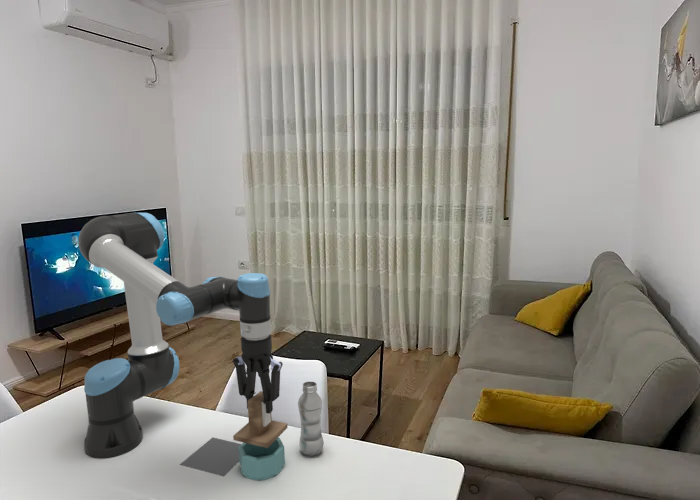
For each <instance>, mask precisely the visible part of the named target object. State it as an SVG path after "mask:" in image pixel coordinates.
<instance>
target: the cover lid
mask: <svg viewBox="0 0 700 500" xmlns="http://www.w3.org/2000/svg"><path fill="white" fill-rule="evenodd" d="M254 395H255V396H254ZM254 395H253V396H254V397H253V398H251V399H250V400H249V401H248V409H247V416H248V421H247V423H246V424H245V425H244V426H243V427H241V428H240V429H239V430H238V431H237V432H236V433H235V434H233V436H232V437H233V441H236V442H240V443H243V442H244V443H248V444H252V445H257V446H261V447H266V448H268V447H269V446H270V445H271V444H272V443H273V442H274V441H275V440H276V439H277V438H278V437H279V438H280V436H282V434H283V433H284V432H285V431H286V430H287V429H288V423H286V422H281V421H277V420H272V419H273V418H272V412H271V413H270V415H271V422H270V423H269V424H268V425H267V426H266V427H264V426H263V420H262V402H263V401H264V397H263V391H261V390H260V391H259V392H258V393H255V394H254Z"/></svg>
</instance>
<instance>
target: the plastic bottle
mask: <svg viewBox="0 0 700 500" xmlns="http://www.w3.org/2000/svg"><path fill="white" fill-rule="evenodd" d="M317 384H318V383H316V381H305V382H304V383H302V393H301V395H300V396H299V398H298V401H297V407H298V413H299V421H300V436H299V450H300V451H301V452H302V454H304V455H306V456H309V457H310V456H311V457H312V456H316V455H318V454H321V452H322V451H323V449H324V437H323V433H322V426H321V425H322V423H321V422H322V421H321V420H322V416H321V415H322V408H323V407H322V406H323V401H322V400H323V399H322V398H321V396H320V395H319V394H318V392H317V391H318V385H317Z"/></svg>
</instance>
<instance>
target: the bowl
mask: <svg viewBox="0 0 700 500" xmlns="http://www.w3.org/2000/svg"><path fill="white" fill-rule="evenodd" d="M240 444H241V445H240V446H239V447H238V450H239V462H238V463H239V464H238V465H239V468H240V473H241V475H242V476H244V477H245V478H247V479H249V480H252V481H262V480H263V481H264V480H269V479H271V478H274V477H276V476H277V475H279V474H280V472H281V471H283V469H284V466H285V465H286V460H285V445H284V443H283V441H282V439H281V438H280V436H279V437H278V438H277V439H276V440H275V441H274V442H273V443H272V444H271V445H270V446H269V447H268V448H266V447H261V446H257V445H252V444H248V443H244V442H241V443H240Z"/></svg>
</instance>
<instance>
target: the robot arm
mask: <svg viewBox="0 0 700 500" xmlns="http://www.w3.org/2000/svg"><path fill="white" fill-rule="evenodd" d="M164 232H165V231H164V229H163V226H162V224H161V223H160V221H159V220H158V219H157V218H156V216H154V215H153V214H151V213H148V212H130V213H123V214H114V215H101V216H98V217H95V218H93V219H90V220H89V221H88V222H86V223H85V224H84V225H83V227H82V229H80V231H79V235H78V241H77V242H78V243H77V245H78V249H79V251H80V254H81V256H83V257H84V259H85V260H86V261H87V262H89V264H91V265H93V266H94V267H96V268H100V269H105V270H107V271H108V272H109V273H111V274H112V275H114V276H115V277H117V278H118V279H120V280H121V281H122V282H123V286H124V295H125V302H126V308H127V317H128V323H129V324H128V325H129V332H130V337H131V338H130V339H131V346H130V347H129V348H128V350H127V357H128V358H127V359H126V358H123V357H120V358H119V357H116V358H112V359H107V360H103V361H100V362H99V363H96V364H95V365H93V366H92V367H90V368H89V369H88V371H86V373H85V375H84V389H83V390H84V393H85V401H86V410H87V418H88V425H87V429H86V436H85V438H84V442H83V445H84V447H83V448H84V452H85V453H86V455H87V456H89V457H92V458H97V459H100V458H101V459H103V458H104V459H105V458H111V457H117V456H119V455H122V454H125V453H128V452H130V451H132V450H133V449H136V447H138V446H139V445H140V444H141V442H142V441H143V438H144V435H143V433H144V432H143V428H142V426H141V424H140V422H139V420H138V418H137V415H136V414H135V409H134V408H135V407H134V401H137V400H139V399H141V398H143V397H145V396H148V395H150V394H153V393H154V392H157V391H160V390H162V389H165V388H167V386H169V385H172V383H174V382H175V380H176V379H177V378H178V376H179V373H180V359H179V356H178V355H177V354H176V351H175V349H174V348H172V347H171V346H170V345H169V343H168V342H167V341H166V340H164V339H163V332H162V324H164V325H166V326H170V327H171V326H172V327H173V326H176V325H179V324H185V323H188V322H190V321H193V320H196V319H199V318H201V317H204V316H207V315H210V314H212V313H213V314H214V313H216V312H218V311H221V310H224V309H226V310H227V309H228V310H232V311H233V310H234V311H239V328H240V329H239V330H240V336H241V338H240V347H241V349H240V350H241V352H242V353H241V355H238V356H236V357H235V358H233V359H232V363H233V365H234V366H235V372H236V381H237V386H238V387H237V388H238V393H239V396H241V397H242V396H244V397H245V399H246V409H247V410H248V401H249V400H250V399H251V398H253V397H254V396H255V395H256V394H257V393H256V392H255V391H256V383H257V380H256V378H257V375H258V377H259V379H260V380H259V381H260V384H261V390H262V392H263V397H264V401H263V402H262V420H263V426H264V427H266V426H267V425H268V424H269V423H270V422H271V417H272V412H273V410H274V408H273V407H274V405H273V402H274V401H276V400H277V399H278V398H279V397H280V389H281V387H280V385H281V384H280V383H281V369H282V367H283V362H282V361H279V362H278V361H277V360H275V359H274V356H273V353H272V350H273V344H272V342H273V341H272V338H273V337H272V322H271V321H272V320H271V301H270V300H271V289H270V283H269V278H268V276H267V275H266V274H265V273H260V272H256V273H255V272H249V273H244V274H241V275H239V276H238V277H237V279H233V278H228V277H227V278H226V277H223V276H210V277H208V278H206V279H205V280H204V281H203V282H202V283H201V284H198V285H194V286H191V287H189V286H187V285H186V284H184V283H182V282H181V281H179V280H178V279H176V278H174V277H173V276H172V275H170V274H168V273H167V272H165V271H164V270H163V269H161V268H160V267H158V266H157V265H155V264H154V262H155V261H156V260H157V259H158V257H159V256H158V255H159V254H158V250H159V249H160V248H162V247H163V245H164V242H165V233H164ZM161 322H162V323H161ZM270 366H271V368H270ZM270 370H271V373H270ZM270 413H271V415H270Z"/></svg>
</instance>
